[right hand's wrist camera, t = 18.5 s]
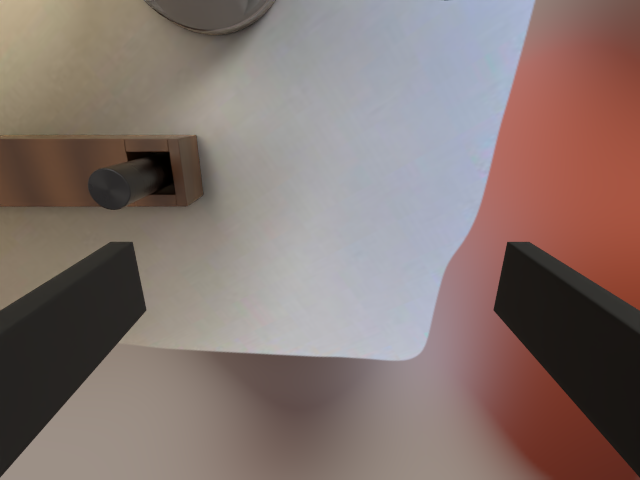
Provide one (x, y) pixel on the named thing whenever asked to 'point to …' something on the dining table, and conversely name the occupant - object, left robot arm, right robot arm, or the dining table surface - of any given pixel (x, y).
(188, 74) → the dining table surface
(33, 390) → the right robot arm
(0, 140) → the peg rail
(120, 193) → the peg
